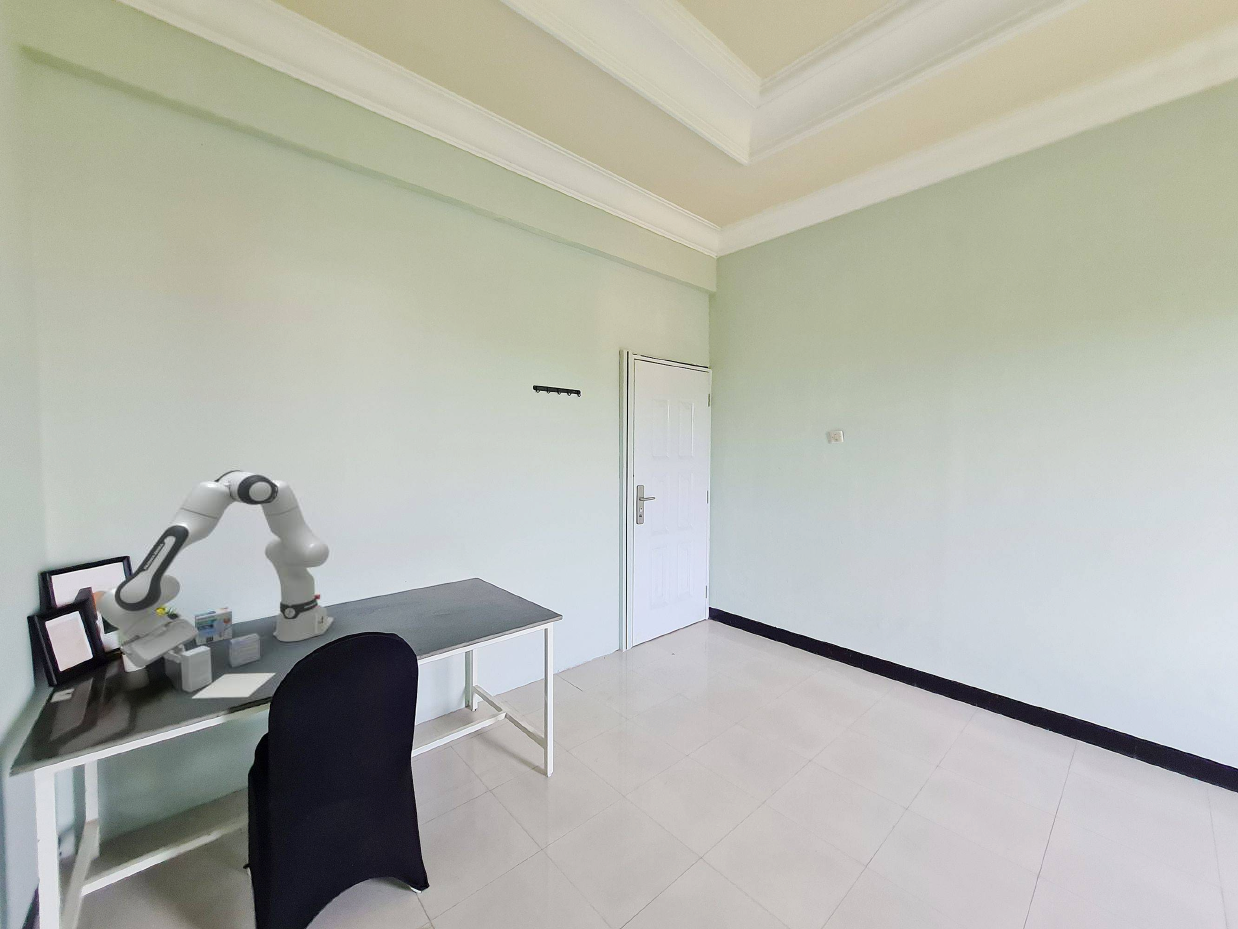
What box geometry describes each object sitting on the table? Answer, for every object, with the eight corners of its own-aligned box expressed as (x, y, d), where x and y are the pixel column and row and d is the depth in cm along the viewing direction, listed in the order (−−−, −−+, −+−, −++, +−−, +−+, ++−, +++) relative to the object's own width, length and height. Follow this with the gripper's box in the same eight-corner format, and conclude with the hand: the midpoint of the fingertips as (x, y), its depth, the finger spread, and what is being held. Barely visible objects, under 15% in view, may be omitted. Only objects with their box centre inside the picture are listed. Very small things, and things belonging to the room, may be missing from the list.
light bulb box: (197, 646, 176) (195, 618, 176) (194, 640, 181) (193, 613, 180) (233, 637, 184) (232, 610, 183) (230, 632, 189) (229, 605, 188)
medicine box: (257, 655, 170) (256, 632, 170) (260, 659, 168) (259, 636, 167) (229, 663, 164) (228, 639, 164) (232, 668, 162) (231, 643, 161)
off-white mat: (224, 675, 157) (224, 674, 157) (276, 673, 159) (276, 672, 159) (191, 699, 143) (191, 698, 143) (247, 697, 145) (247, 696, 145)
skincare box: (204, 680, 153) (203, 645, 152) (212, 683, 152) (211, 647, 151) (181, 689, 148) (180, 653, 147) (189, 693, 146) (187, 656, 145)
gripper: (124, 637, 137) (162, 669, 139) (182, 610, 157) (215, 638, 159) (108, 653, 137) (147, 684, 138) (168, 623, 157) (201, 651, 159)
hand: (183, 659), depth 149 cm, fingers closed
